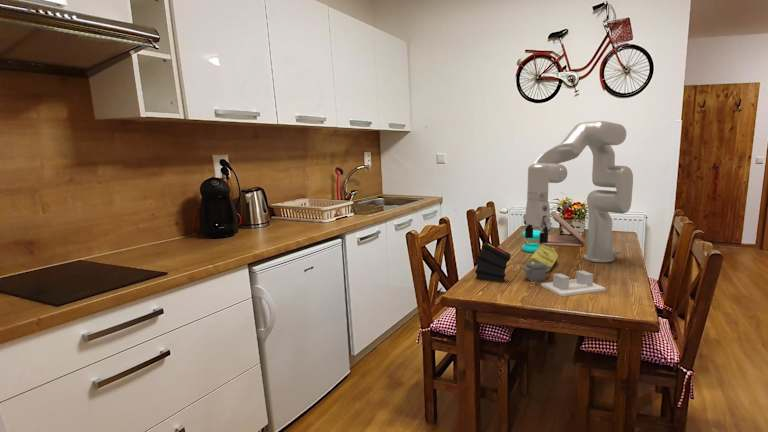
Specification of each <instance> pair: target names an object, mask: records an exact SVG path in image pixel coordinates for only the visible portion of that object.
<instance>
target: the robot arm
mask: <svg viewBox="0 0 768 432" xmlns="http://www.w3.org/2000/svg"><path fill="white" fill-rule="evenodd" d="M626 138H627V130H626V128H625V126H623V124H620V123H617V122H616V123H615V122H610V121H605V120H597V121H584V122H579V123H577V124H576V125H575V126H574V127H573V128H572V130H570V132H568V134H567V135H566V137H565V138H564V139H563V140H562V141H561V143H560V144H557V145H555V146H553V147H551V148H550V149H548V150H546V151H544V152H543V153H542V154H540V155H539V156H538V157H537V158H536V160H535V161H534V162H533V163H532V164H531V165H529V166H528V169H527V190H526V191H527V192H526V197H527V198H526V206H525V207H526V208H525V215H523V216H522V218H523V225H524V231H525V237H524V239H527V238H533V230H534V228H533V227H535V228H539V231H541V233H540V239H539V244H541V243H547V242H548V235H549V233H550V230H551V227H552V225H553V223H552V221H551V209H550V202H549V184H558V183H562V182H564V181H565V180H566V179H567V176H568V170H567V167H566V166H565V165H563V164H562V163H565V162H569V161H572V160H574V159H577V158H579V156H580V155H581V153H582V152H583V151H584V149H585V148H586V147H589V149H590V151H591V153H592V172H591V178H592V181H591V182H592V184H593V185H594V186H595V187H599V188H613V189H615V190H609V189H597V190H596V189H595V190H592V191H591V192H589V193H588V195H587V197H586V206H587V212H588V227H587V228H588V229H587V245H586V246H587V248H586V250H587V251H586V253H585V254H583V256H582V257H583V259H584V260H585V261H589V262H593V263H603V264H604V263H613V262H614V261H615V257H614V256H615V255H619V254H620V253H621V252H620V250H619V249H615V250H614V249H612V238H613V237H612V235H613V219H612V217H611V215H610V213H612V214H626V213H628V212H629V211H630V209H631V206H632V198H633V186H634V174H633V173H634V172H633V171H632V169H631V168H630V167H629V166H626V165H616V161H615V160H616V158H615V157H616V154H615V151H614V149H613V147H612V146H619V145H621V144H623V143H624V142H625V140H626Z"/></svg>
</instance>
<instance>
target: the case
mask: <svg viewBox="0 0 768 432" xmlns="http://www.w3.org/2000/svg"><path fill="white" fill-rule="evenodd" d="M550 216H552V218H553V220H554V221H555V222H557V223H558V224H559V225H560V226H561V227H562V228H564V230H566V231H567V232H568V233H569V234H570V235H559V234H558V235H557V234H548V242H547V243H540V244H541V245H545V246H559V247H560V246H561V247H564V246H565V247H582V246H583V243H584V242H585V241H584V239H583V236H582V234H581V233H580V232H579V231H578V230H577V229H575V228H574V227H573V226H572V225H571V224H569V223H568V222H567V221H566V220H565V219H564V218H562V217H561V216H560V215H559V214H558V213H557V212H556V211H553V210H552V211H551V212H550Z"/></svg>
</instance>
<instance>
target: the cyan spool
mask: <svg viewBox="0 0 768 432" xmlns="http://www.w3.org/2000/svg"><path fill="white" fill-rule="evenodd" d="M540 233H541V231H540V230H537V229H533V238H526V239H527V240H540ZM522 236H523V238H525V230H524V231H523V232H522ZM540 245H542V244H541V243H537V242H527V243H524V244H523V245H522V250H523V251H524V252H525V253H532V254H534V253H535V251H536V250H537V249H538V248H539V246H540Z"/></svg>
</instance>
